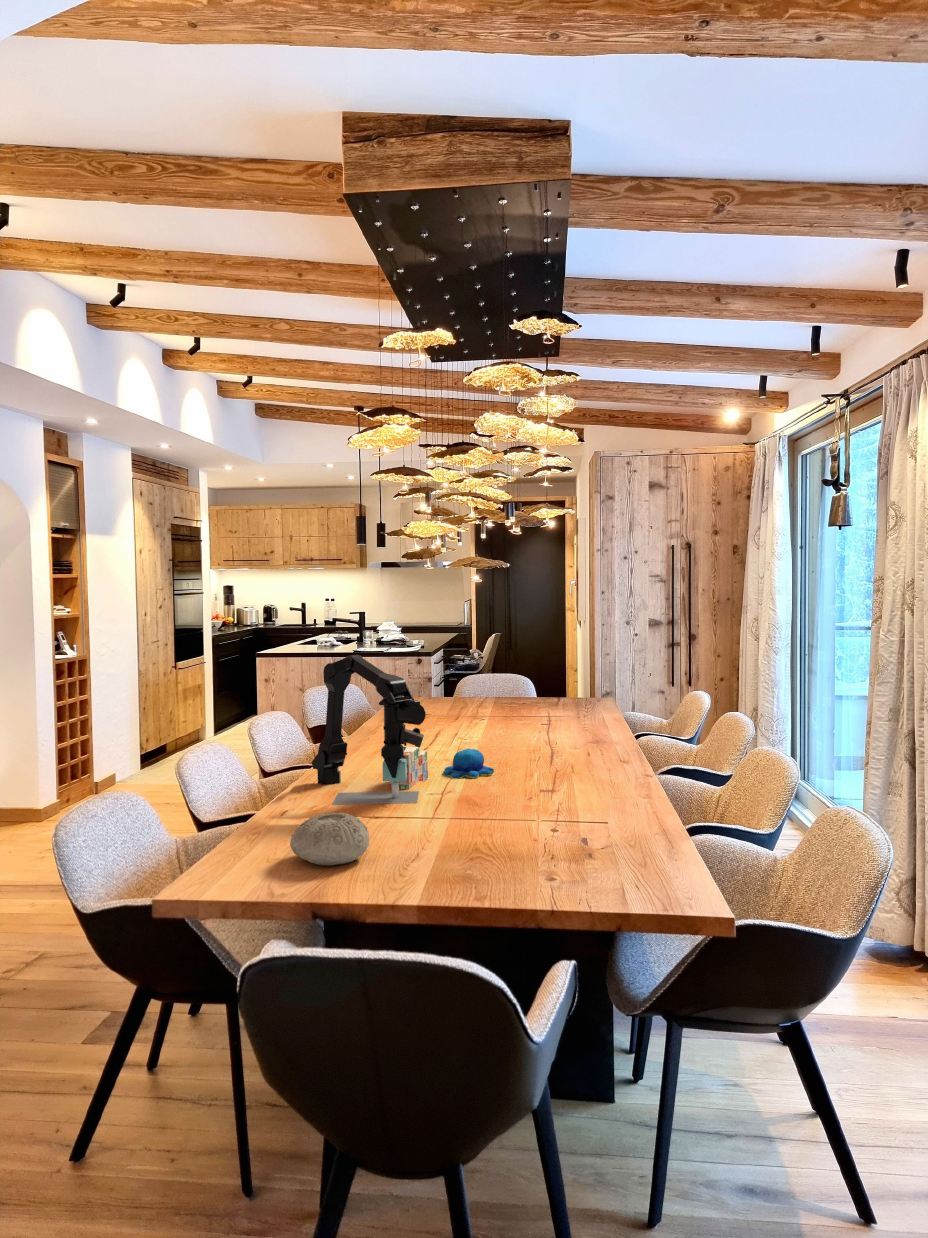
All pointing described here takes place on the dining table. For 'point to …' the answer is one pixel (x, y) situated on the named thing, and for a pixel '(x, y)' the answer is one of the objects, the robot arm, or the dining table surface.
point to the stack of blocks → (414, 767)
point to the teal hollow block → (400, 771)
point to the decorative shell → (330, 839)
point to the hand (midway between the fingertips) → (394, 775)
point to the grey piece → (377, 797)
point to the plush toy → (468, 765)
